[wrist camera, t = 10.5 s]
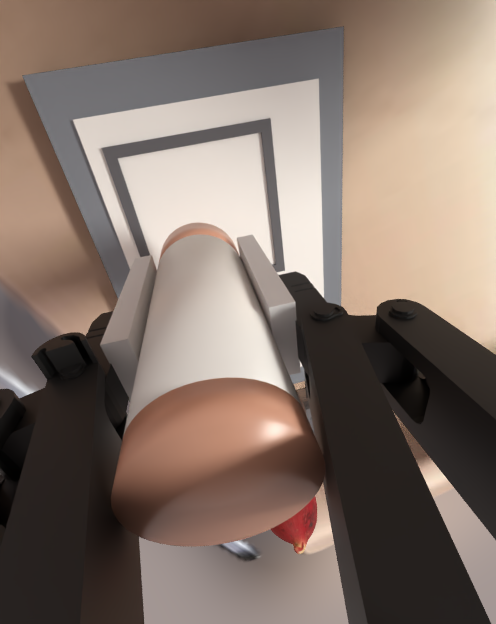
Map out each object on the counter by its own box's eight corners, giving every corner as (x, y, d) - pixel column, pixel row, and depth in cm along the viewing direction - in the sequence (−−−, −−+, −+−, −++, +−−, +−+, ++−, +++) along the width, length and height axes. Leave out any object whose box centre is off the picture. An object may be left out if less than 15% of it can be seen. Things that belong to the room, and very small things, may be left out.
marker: (149, 231, 15) (68, 458, 5) (230, 215, 15) (324, 396, 5) (172, 301, 17) (151, 564, 7) (243, 286, 17) (326, 516, 7)
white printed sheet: (31, 79, 15) (18, 74, 14) (335, 32, 16) (347, 24, 15) (168, 407, 28) (168, 419, 26) (335, 364, 29) (342, 374, 28)
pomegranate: (290, 451, 34) (318, 528, 27) (310, 472, 37) (340, 547, 30) (247, 475, 35) (263, 556, 28) (270, 494, 38) (290, 572, 31)
